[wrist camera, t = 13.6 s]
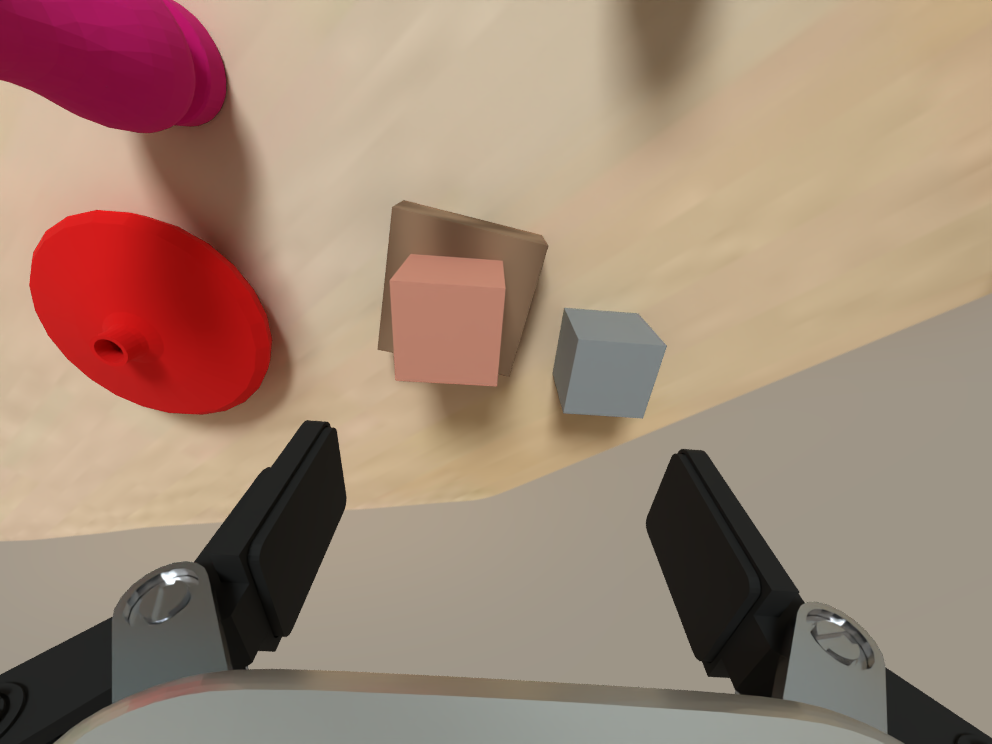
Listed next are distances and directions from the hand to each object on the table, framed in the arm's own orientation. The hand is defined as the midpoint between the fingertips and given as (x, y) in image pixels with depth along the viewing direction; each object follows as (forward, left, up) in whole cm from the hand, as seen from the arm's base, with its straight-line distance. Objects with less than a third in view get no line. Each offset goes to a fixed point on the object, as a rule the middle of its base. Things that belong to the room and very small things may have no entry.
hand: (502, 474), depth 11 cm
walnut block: (+3, +1, -22) cm, 22 cm away
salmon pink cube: (+3, +1, -18) cm, 18 cm away
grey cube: (-9, +5, -21) cm, 24 cm away
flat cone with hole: (+24, +5, -22) cm, 33 cm away
